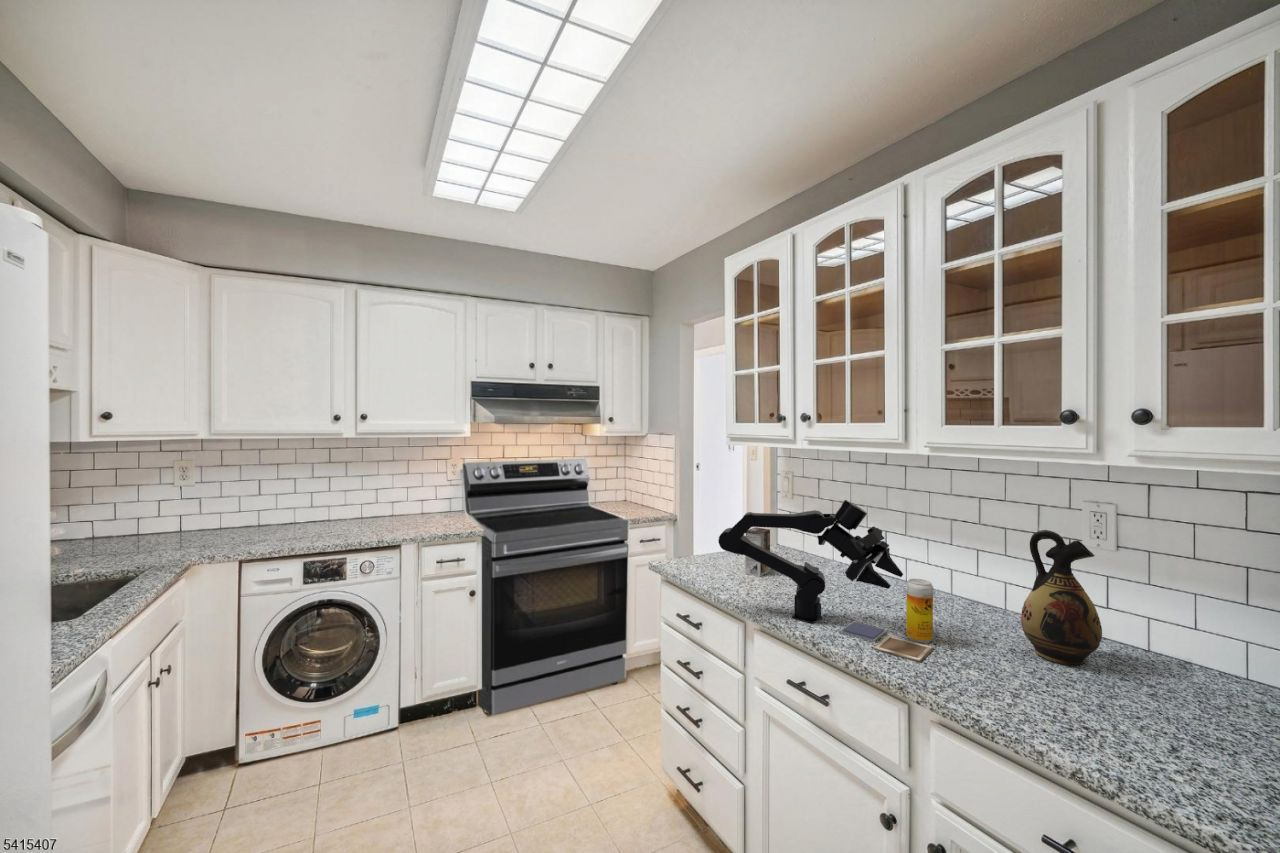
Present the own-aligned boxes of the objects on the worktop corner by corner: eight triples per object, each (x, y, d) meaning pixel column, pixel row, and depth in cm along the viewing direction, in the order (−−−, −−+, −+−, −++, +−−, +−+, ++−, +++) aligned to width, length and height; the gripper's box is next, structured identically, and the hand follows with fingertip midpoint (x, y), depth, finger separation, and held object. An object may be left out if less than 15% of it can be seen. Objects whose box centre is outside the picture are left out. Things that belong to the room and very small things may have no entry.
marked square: (872, 649, 134) (872, 647, 134) (887, 636, 142) (887, 634, 142) (920, 662, 127) (920, 660, 127) (933, 648, 135) (934, 646, 135)
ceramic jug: (1104, 657, 131) (1106, 533, 131) (1097, 678, 120) (1099, 542, 120) (1019, 637, 143) (1021, 523, 143) (1006, 654, 132) (1008, 531, 132)
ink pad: (839, 633, 145) (840, 629, 145) (853, 624, 151) (853, 620, 151) (874, 642, 138) (874, 638, 138) (887, 633, 145) (887, 629, 145)
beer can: (921, 645, 137) (921, 586, 137) (900, 636, 143) (901, 579, 143) (938, 642, 139) (938, 583, 139) (917, 633, 145) (918, 577, 145)
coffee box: (754, 569, 208) (755, 527, 208) (770, 571, 205) (771, 529, 205) (744, 574, 201) (744, 530, 201) (760, 577, 197) (761, 532, 197)
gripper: (844, 530, 141) (899, 570, 133) (872, 512, 155) (924, 548, 146) (825, 561, 146) (876, 602, 138) (853, 541, 160) (902, 578, 151)
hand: (896, 581), depth 143 cm, fingers open, 9 cm apart
